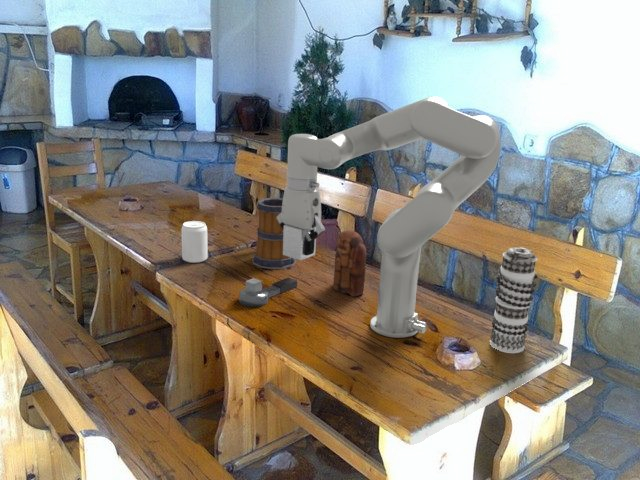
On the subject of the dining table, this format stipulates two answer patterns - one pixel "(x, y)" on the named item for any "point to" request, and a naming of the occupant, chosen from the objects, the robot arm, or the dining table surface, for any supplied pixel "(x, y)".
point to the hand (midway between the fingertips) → (299, 250)
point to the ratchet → (263, 291)
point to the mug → (270, 237)
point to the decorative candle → (513, 300)
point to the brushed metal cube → (295, 242)
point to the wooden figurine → (350, 264)
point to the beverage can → (194, 241)
